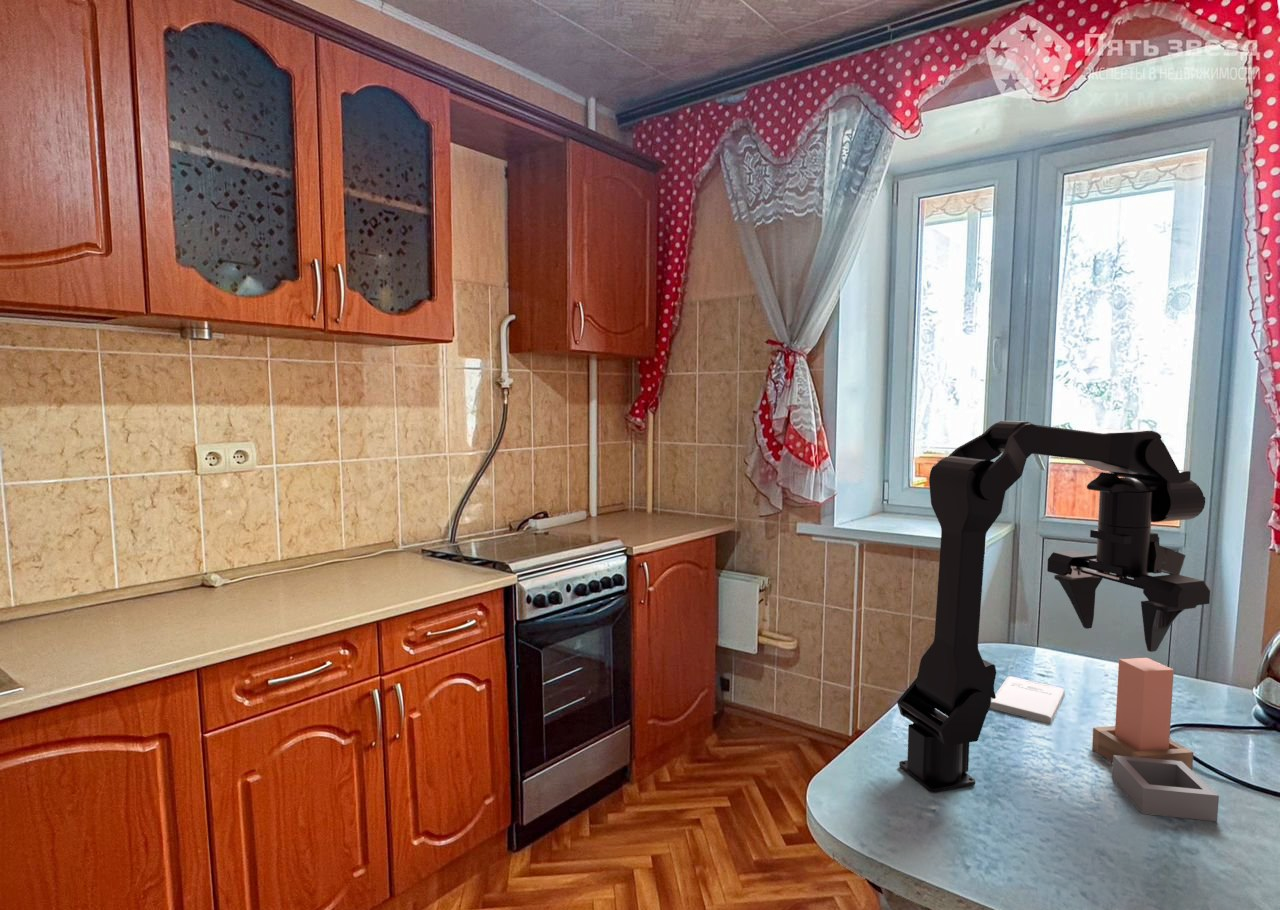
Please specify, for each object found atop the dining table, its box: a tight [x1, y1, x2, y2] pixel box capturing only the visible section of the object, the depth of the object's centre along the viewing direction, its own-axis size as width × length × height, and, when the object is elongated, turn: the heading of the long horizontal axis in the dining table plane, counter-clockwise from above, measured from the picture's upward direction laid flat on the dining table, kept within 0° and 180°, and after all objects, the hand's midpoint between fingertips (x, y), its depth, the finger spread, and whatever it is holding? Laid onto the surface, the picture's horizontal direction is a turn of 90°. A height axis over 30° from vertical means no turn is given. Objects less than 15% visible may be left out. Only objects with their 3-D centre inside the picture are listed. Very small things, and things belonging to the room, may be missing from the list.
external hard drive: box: [990, 676, 1066, 725], centre depth 107 cm, size 2×8×12 cm
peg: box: [1114, 657, 1175, 751], centre depth 89 cm, size 4×4×13 cm
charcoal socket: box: [1111, 755, 1220, 822], centre depth 81 cm, size 7×7×3 cm
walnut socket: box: [1091, 725, 1194, 771], centre depth 89 cm, size 7×7×3 cm
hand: (1118, 639), depth 92 cm, fingers open, 9 cm apart
